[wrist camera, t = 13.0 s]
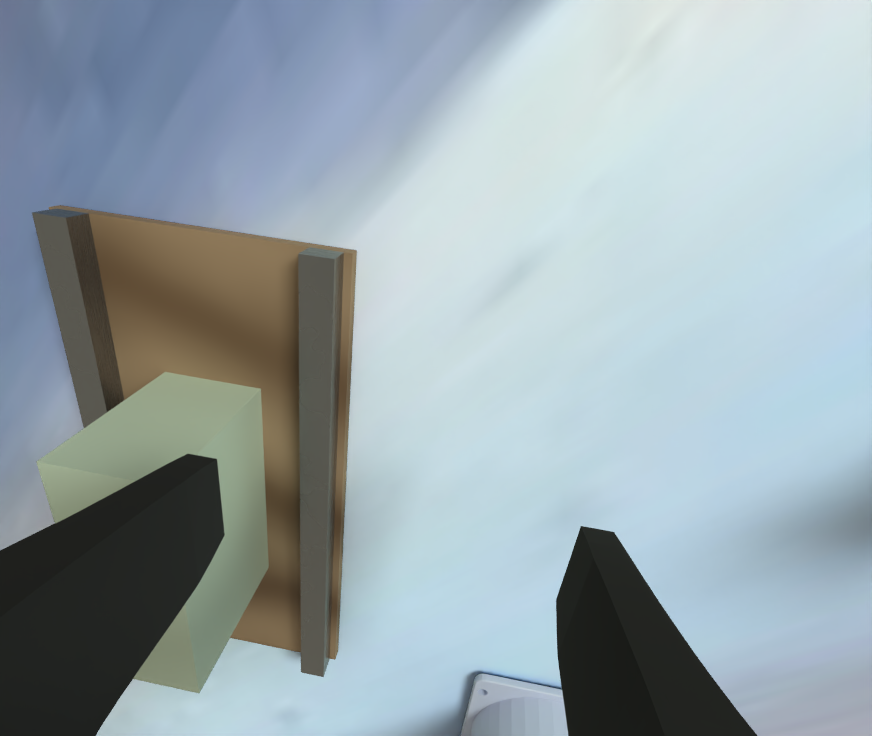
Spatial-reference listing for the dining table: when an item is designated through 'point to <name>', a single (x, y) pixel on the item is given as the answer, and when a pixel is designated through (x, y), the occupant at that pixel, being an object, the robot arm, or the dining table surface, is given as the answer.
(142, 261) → the floor track
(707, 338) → the dining table surface
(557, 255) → the dining table surface
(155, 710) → the dining table surface
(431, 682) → the dining table surface
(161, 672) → the pale green block
